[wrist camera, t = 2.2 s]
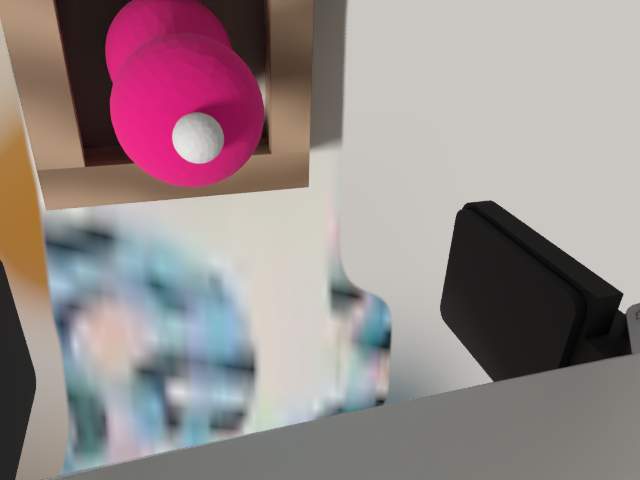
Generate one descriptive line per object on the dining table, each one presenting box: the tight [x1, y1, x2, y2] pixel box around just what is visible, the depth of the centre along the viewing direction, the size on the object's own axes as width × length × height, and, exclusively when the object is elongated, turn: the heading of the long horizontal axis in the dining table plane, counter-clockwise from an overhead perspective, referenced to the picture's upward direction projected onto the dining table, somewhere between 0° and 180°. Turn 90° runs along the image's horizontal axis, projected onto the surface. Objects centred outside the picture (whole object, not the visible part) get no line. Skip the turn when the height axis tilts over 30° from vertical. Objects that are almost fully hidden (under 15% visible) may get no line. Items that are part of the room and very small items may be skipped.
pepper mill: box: [105, 0, 264, 187], centre depth 26 cm, size 7×7×20 cm
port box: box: [0, 0, 314, 210], centre depth 32 cm, size 16×16×6 cm
